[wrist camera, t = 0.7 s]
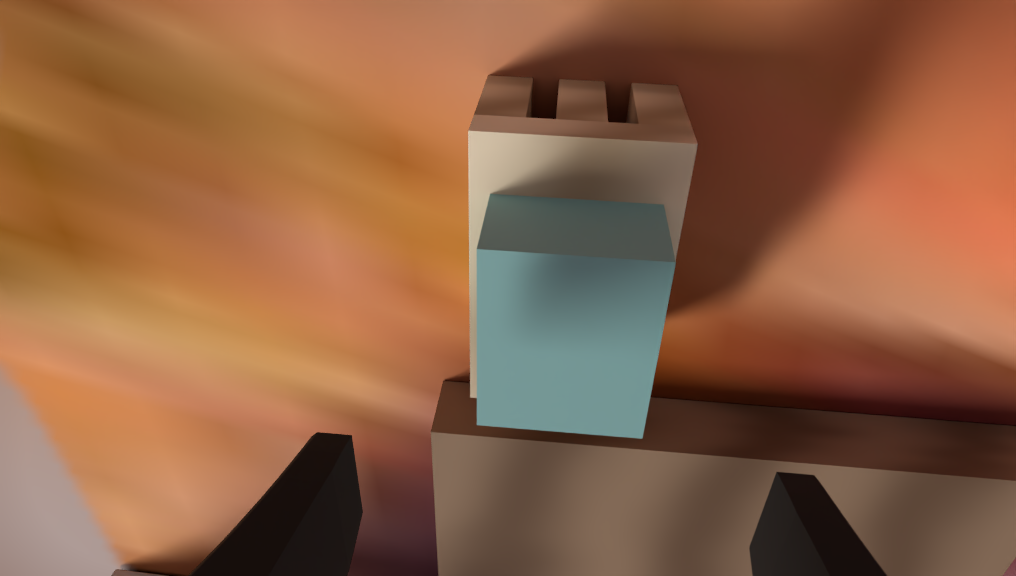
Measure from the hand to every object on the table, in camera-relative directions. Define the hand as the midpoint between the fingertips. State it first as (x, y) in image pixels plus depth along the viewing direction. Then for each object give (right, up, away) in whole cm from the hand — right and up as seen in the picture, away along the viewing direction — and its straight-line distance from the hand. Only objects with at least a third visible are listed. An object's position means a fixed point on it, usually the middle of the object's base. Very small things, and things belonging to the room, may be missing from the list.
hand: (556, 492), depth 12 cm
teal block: (+1, +4, +5) cm, 7 cm away
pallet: (+1, +6, +9) cm, 11 cm away
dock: (+7, -6, +16) cm, 19 cm away
